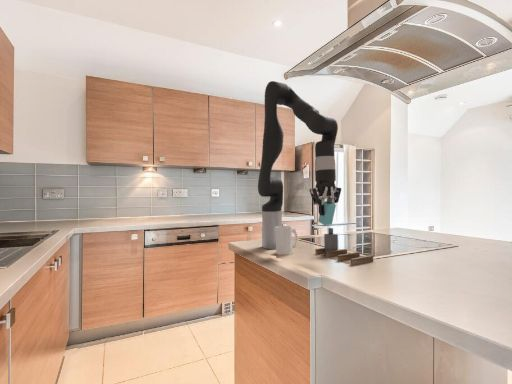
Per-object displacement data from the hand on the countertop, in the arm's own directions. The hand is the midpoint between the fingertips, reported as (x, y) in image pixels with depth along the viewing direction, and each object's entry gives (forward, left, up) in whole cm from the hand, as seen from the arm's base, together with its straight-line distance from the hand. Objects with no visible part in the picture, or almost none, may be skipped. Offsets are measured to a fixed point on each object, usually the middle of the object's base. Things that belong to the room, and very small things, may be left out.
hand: (326, 214), depth 106 cm
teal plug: (-1, 0, -3) cm, 3 cm away
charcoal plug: (-4, +6, -16) cm, 18 cm away
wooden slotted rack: (+2, +6, -18) cm, 19 cm away
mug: (-16, -7, -18) cm, 25 cm away
